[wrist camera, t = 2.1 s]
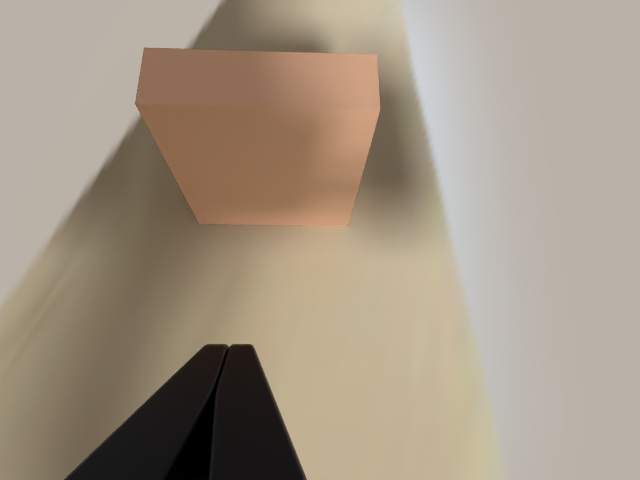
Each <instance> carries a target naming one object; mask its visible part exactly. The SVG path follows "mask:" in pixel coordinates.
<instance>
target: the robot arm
mask: <svg viewBox="0 0 640 480" xmlns="http://www.w3.org/2000/svg"><path fill="white" fill-rule="evenodd" d="M64 480H307V479H306V476H305V474H304V471H303V469H302V466H301V464H300V461H299V459H298V456H297V454H296V451H295V449H294V446H293V444H292V441H291V439H290V436H289V434H288V431H287V429H286V426H285V424H284V421H283V419H282V416H281V413H280V411H279V408H278V406H277V403H276V401H275V398H274V396H273V393H272V391H271V388H270V386H269V383H268V381H267V378H266V376H265V373H264V371H263V368H262V366H261V363H260V361H259V358H258V356H257V353H256V351H255V348H254V347H253V345H251V344H233V345H231V346H230V347H229V346H228V345H226V344H207V345H205V346H204V347H202V348H201V349H200V350H199V351H198V352H197V353H196V354H195V355H194V356H193V357H192V358H191V359H190V360H189V361H188V362H187V363H186V364H185V365H184V366H183V367H181V368H180V369H179V370H178V371H177V372H176V373H175V374H174V375H173V376H172V377H171V378H170V379H169V380H168V381H167V382H166V383H165V384H164V385H163V386H162V387H161V388H159V389H158V390H157V391H156V392H155V393H154V394H153V395H152V396H151V397H150V398H149V399H148V400H147V401H146V402H145V403H144V404H143V405H142V406H141V407H140V408H138V409H137V410H136V411H135V412H134V413H133V414H132V415H131V416H130V417H129V418H128V419H127V420H126V421H125V422H124V423H123V424H122V425H121V426H120V427H119V428H117V429H116V430H115V431H114V432H113V433H112V434H111V435H110V436H109V437H108V438H107V439H106V440H105V441H104V442H103V443H102V444H101V445H100V446H99V447H98V448H97V449H95V450H94V451H93V452H92V453H91V454H90V455H89V456H88V457H87V458H86V459H85V460H84V461H83V462H82V463H81V464H80V465H79V466H78V467H77V468H76V469H74V470H73V471H72V472H71V473H70V474H69V475H68V476H67V477H66V478H65V479H64Z"/></svg>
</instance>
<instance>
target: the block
mask: <svg viewBox="0 0 640 480" xmlns="http://www.w3.org/2000/svg"><path fill="white" fill-rule="evenodd" d="M135 104H136V106H137V108H138V110H139V112H140V114H141V116H142V118H143V119H144V121H145V123H146V125H147V127H148V129H149V131H150V133H151V134H152V136H153V138H154V140H155V142H156V144H157V146H158V148H159V149H160V151H161V153H162V155H163V157H164V159H165V161H166V163H167V164H168V166H169V168H170V170H171V172H172V174H173V176H174V178H175V179H176V181H177V183H178V185H179V187H180V189H181V191H182V193H183V195H184V196H185V198H186V200H187V202H188V204H189V206H190V208H191V210H192V211H193V213H194V215H195V217H196V219H197V221H198V223H199V224H239V225H317V226H349V222H350V218H351V215H352V211H353V208H354V204H355V200H356V197H357V193H358V189H359V186H360V182H361V178H362V175H363V171H364V167H365V164H366V160H367V156H368V153H369V149H370V145H371V142H372V138H373V135H374V131H375V127H376V124H377V120H378V116H379V113H380V95H379V78H378V61H377V54H343V53H308V52H274V51H240V50H205V49H170V48H169V49H168V48H144V52H143V58H142V64H141V70H140V77H139V83H138V89H137V96H136V101H135Z"/></svg>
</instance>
